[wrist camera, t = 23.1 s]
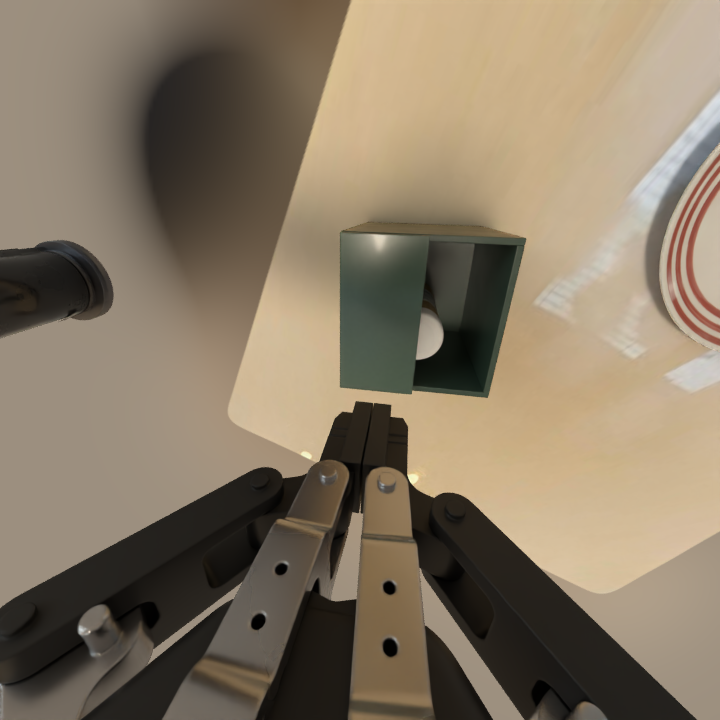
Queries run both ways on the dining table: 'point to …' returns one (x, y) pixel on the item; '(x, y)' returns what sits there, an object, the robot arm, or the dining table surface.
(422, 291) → the chute flap
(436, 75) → the dining table surface
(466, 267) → the chute
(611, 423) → the dining table surface
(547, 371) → the dining table surface
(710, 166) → the dinner plate
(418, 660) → the robot arm
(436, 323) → the sprinkles bottle
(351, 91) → the dining table surface
